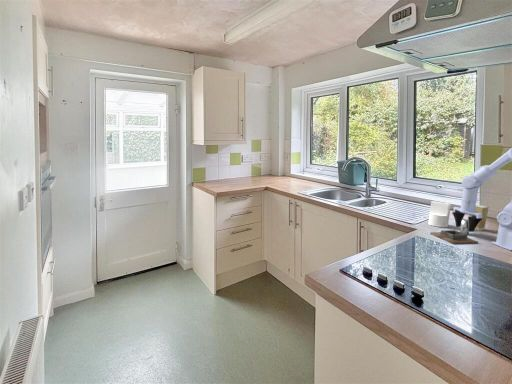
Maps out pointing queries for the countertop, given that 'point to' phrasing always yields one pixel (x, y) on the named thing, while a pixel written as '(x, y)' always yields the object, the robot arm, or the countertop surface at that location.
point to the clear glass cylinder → (464, 226)
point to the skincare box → (483, 211)
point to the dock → (454, 237)
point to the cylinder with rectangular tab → (439, 214)
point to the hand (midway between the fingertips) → (464, 229)
